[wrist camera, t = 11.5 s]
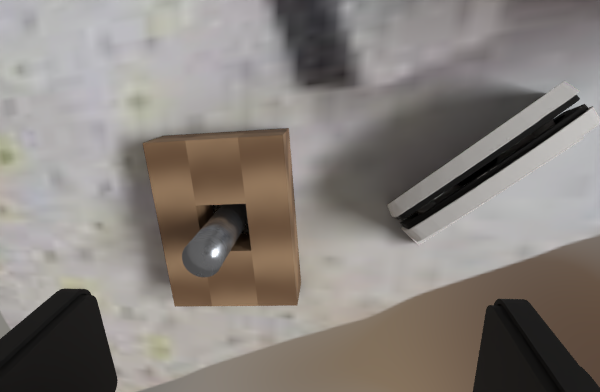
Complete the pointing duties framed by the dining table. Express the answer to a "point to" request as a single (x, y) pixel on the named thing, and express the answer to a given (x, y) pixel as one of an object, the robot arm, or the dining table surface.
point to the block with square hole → (228, 190)
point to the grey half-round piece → (509, 169)
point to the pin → (215, 240)
